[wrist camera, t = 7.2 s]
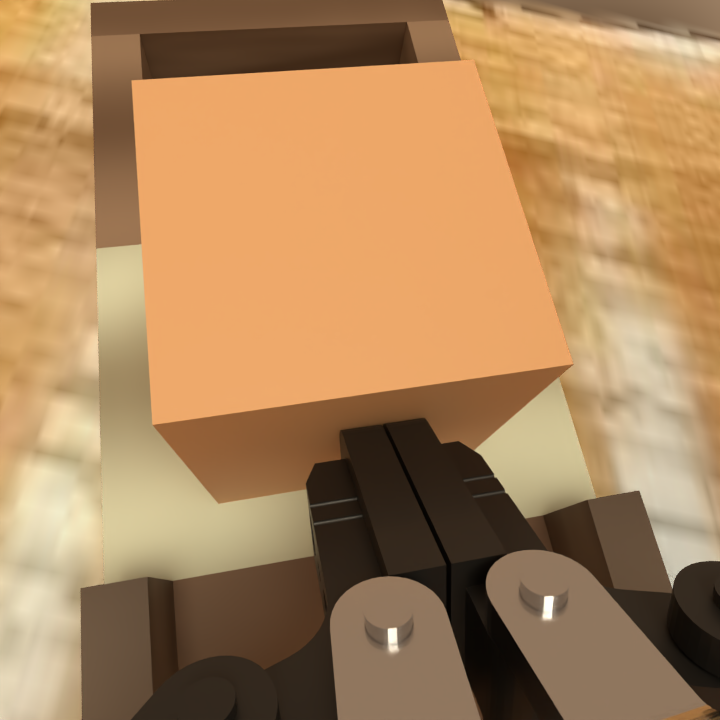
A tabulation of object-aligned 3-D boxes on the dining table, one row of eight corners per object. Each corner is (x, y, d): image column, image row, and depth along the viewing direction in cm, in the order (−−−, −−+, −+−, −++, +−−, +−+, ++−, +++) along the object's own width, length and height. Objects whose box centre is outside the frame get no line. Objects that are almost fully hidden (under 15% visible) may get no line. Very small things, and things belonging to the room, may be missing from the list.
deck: (726, 1139, 13) (990, 1472, 8) (168, 1339, 12) (64, 1923, 6) (423, 59, 25) (455, -83, 19) (115, 75, 23) (63, -76, 18)
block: (457, 464, 15) (572, 364, 9) (218, 503, 14) (152, 425, 8) (409, 260, 17) (473, 60, 11) (197, 284, 17) (131, 79, 10)
